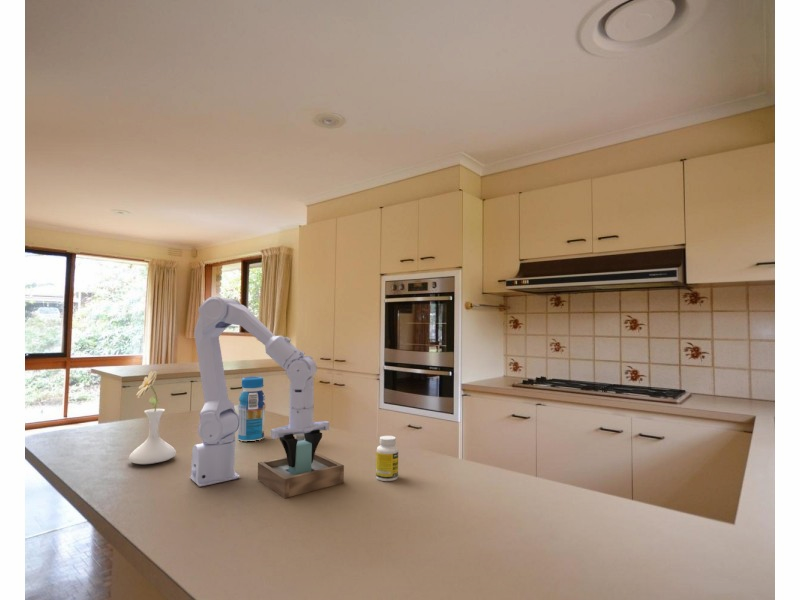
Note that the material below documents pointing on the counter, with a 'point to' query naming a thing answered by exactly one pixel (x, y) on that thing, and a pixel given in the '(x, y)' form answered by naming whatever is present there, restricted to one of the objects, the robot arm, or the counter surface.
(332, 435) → the counter surface
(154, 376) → the flower in vase
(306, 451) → the peg
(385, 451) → the supplement bottle
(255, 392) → the beverage bottle
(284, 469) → the bore box
